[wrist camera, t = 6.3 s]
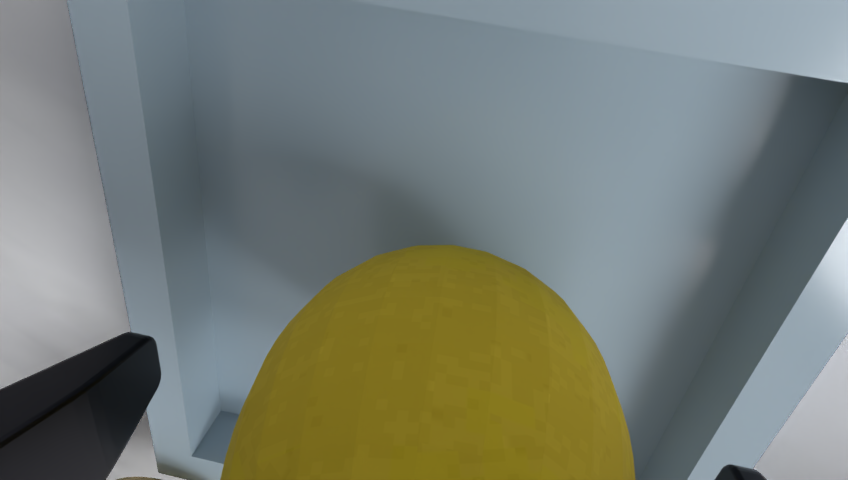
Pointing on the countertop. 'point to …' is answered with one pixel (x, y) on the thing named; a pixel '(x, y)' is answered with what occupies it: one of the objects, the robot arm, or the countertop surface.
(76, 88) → the countertop surface
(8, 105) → the countertop surface
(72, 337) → the countertop surface
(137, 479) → the balance
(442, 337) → the lemon
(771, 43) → the dish
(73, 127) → the countertop surface
